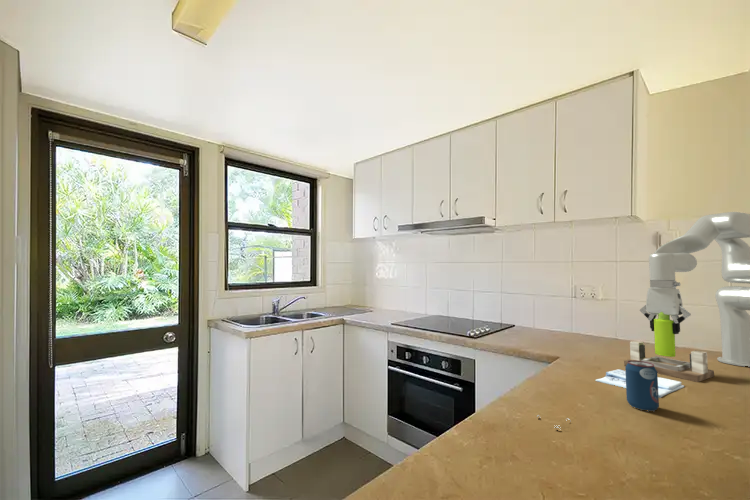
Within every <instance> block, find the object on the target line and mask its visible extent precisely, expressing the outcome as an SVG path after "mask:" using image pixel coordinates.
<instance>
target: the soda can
mask: <svg viewBox="0 0 750 500" xmlns="http://www.w3.org/2000/svg"><path fill="white" fill-rule="evenodd" d="M624 367H625V370H624V371H626V390H625V393H626V401H627V403H628V404H629V406H630V405H631V406H632V407H631V406H630V407H631V408H633V407H635V408H638V409H641V410H640V411H642V410H648V411H647V412H649V411H653V412H656V411H655V410H657V409H658V408H659V407H660V402H659V401H660V397H659V396H658V373H657V370H656V369H655V367H654V364H652V363H649V362H644V361H637V360H630V361H628V364H627V365H626V366H624ZM635 408H634V409H635ZM638 409H637V410H638Z"/></svg>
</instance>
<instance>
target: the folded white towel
mask: <svg viewBox="0 0 750 500" xmlns="http://www.w3.org/2000/svg"><path fill="white" fill-rule="evenodd" d="M657 377H658V376H657ZM595 382H598V383H602V384H606V385H610V386H614V385H615V387H617V386H618V388H621V387H623V388H622V389H625V388H626V370H622V369H619V368H618V369H614V370H610V371H606V372H605V376H604V377H602V378H601V377H600V378H597V379H595ZM683 388H685V385H683V383H682V381H679V380H675V379H674V380H673V379H669V378H665V377H661V376H660V377H658V396H659V399H660V398H662V397H664V396H666V395H668V394H670V393H673V392H676V391H678V390H680V389H683Z"/></svg>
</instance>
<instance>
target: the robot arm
mask: <svg viewBox="0 0 750 500" xmlns="http://www.w3.org/2000/svg"><path fill="white" fill-rule="evenodd" d="M747 238H750V213H746V212H739V211H727V212H721V213H714V214H708V215H707V214H706V215H703V216H700V217H699V218H698V219H697V220H696V221H695V222H694V223H693V224H692V226H691V227H690V228H689V229H688V230H687V231H686V232H685V233H684V234H683V235H681V236H678V237H675V238H674V239H672V240H670V241H668V242H666V243H664V244H663V245H660V246H659V247H658V248H657V249H656V250H655V251H654V252H653V253H651V254H649V256H648V268H649V270H648V272H649V287H648V288H647V293H646V301H645V305H643V306H642V307H641V308H640V309H639V311H640V312H641V314H643V316H645V318H646V319H647V320H648V321H649V328H650V330H651V332H654V319H657V317H658V314H660V312H663V313H664V314H665V315H670V318H671V320H673V321H674V323H673V324H672V327H673V334H675V335H679V334H680V332H681V324H682V322H683V321H685V320H686V319H688V318H689V317H691V316H692V315H691V313H690V312H689V311H688V310H687V309H685V308H684V305H683V299H682V294H681V291H680V289H679V288H677V287H681V282H678V281H677V280H676V273H687V272H691V271H693V270H695V268H696V267H697V264H698V261H697V259H696V256H694V255H693V254H692V253H696V252H699V251H702V250H706V249H707V248H708V247H709V246H710V244H712V242H713V241H715V242H716V243H717V244H718V245H719V247H720V250H721V277H722V280H723V281H725V282H727V283H733V284H748V285H749V284H750V245H749V244H748V243H747V242H746V241H744V240H743V239H747ZM714 298H715V301H716V304H717V308H718V312H719V319H720V335H721V354H722V356H717V359H716V360H717V361H719V363H724V364H728V365H731V366H732V365H733V366H739V367H745V366H748V367H747V368H750V314H749V312H747V311H750V286H739V285H738V286H737V285H734V286H733V285H728V286H722V287H720V288H718V289H716V291H715V297H714Z"/></svg>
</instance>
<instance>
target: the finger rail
mask: <svg viewBox="0 0 750 500" xmlns="http://www.w3.org/2000/svg"><path fill="white" fill-rule="evenodd" d="M629 350H630V351H629V353H630V354H629V355H630V359H626V360H623V361H624V362H623V365H624V367H626V365H627V364H628V361H630V360H637V361H644V362H649V363H652V364H654V367H655V369H656V370H657V374H660V375H664V376H668V377H674V378H678V379H681V380H687V381H692V382H696V383H698V382H702V381H705V380H707V379H710V378H713V377H715V371H714V370H713V369H709V364H708V352H707V351H700V350H691V351H690V353H689V361H684V360H683V361H682V360H679V359H678V360H677V359H673V358H668V357H664V356H659V355H657V356H652V357H646V345H645V344H644V341H638V340H632V341H629Z"/></svg>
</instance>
